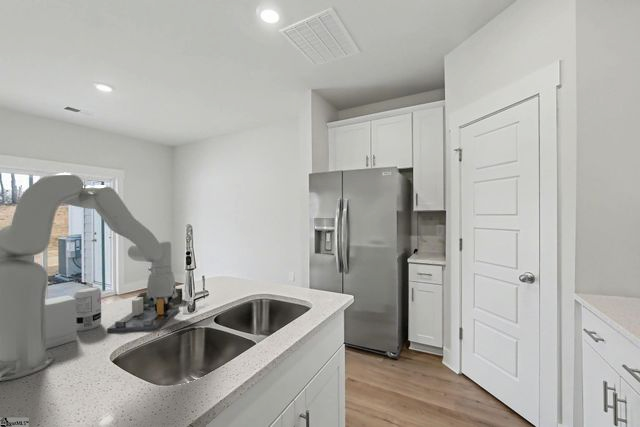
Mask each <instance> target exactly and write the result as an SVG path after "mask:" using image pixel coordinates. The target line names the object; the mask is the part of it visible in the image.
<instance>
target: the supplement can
mask: <svg viewBox="0 0 640 427" xmlns="http://www.w3.org/2000/svg"><path fill="white" fill-rule="evenodd" d="M73 298H75V299H76V318H77V332H84V331H85V332H86V331H89V330H90V331H91V330H93V329H95V328H97V327H100V325H101V324H102V292H101V290H100V288H99V287H98V286H97V287H96V286H94V287H93V286H91V287H85V288H80V289H77V290H75V292H74V294H73Z"/></svg>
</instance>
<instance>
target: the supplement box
mask: <svg viewBox="0 0 640 427" xmlns="http://www.w3.org/2000/svg"><path fill="white" fill-rule="evenodd" d="M45 311H46V350H48V349H51V348H54V347H57V346H61V345H64V344H68V343H71V342H75V341H77V340H78V334H77V332H78V331H77V318H76V299H75V298H74V296H73V297H72V296H71V295H68V294H67V295H61V296H57V297H51V298H45Z"/></svg>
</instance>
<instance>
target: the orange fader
mask: <svg viewBox="0 0 640 427" xmlns="http://www.w3.org/2000/svg"><path fill="white" fill-rule="evenodd" d="M164 304H165V297H160V298H158V299H157V315H161V314H164Z"/></svg>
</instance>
